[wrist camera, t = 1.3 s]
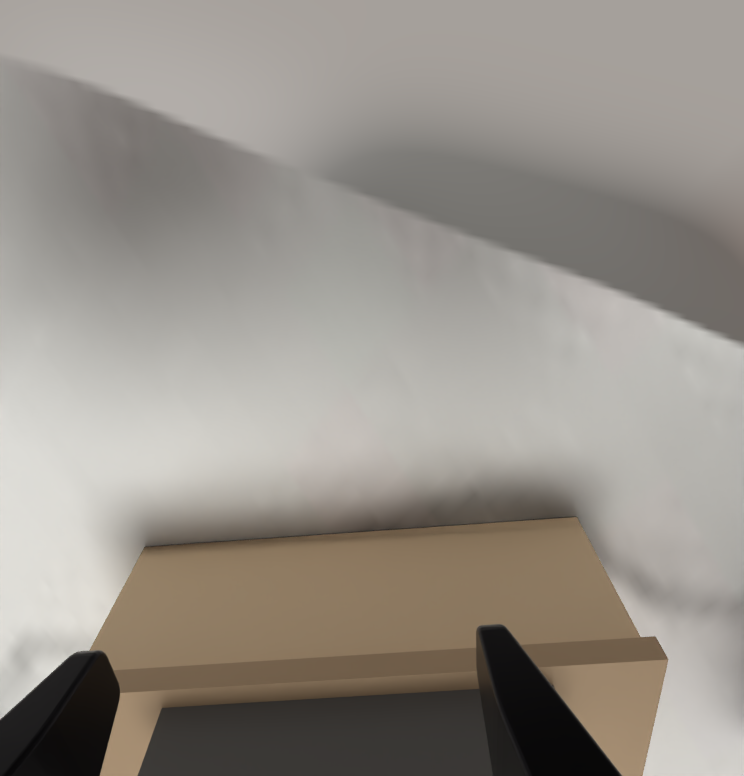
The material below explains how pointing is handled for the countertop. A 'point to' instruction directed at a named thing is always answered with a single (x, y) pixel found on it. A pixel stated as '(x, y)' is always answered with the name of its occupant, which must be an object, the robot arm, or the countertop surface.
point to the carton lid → (368, 712)
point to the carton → (361, 595)
